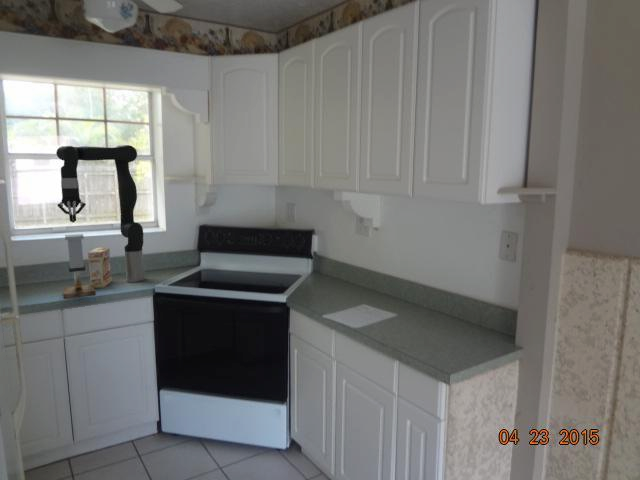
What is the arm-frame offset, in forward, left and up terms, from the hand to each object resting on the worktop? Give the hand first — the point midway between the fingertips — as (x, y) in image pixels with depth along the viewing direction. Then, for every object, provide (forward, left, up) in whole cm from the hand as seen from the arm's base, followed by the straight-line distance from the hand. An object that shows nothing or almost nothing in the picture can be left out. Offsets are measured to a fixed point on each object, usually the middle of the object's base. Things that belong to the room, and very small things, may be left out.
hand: (73, 222), depth 230 cm
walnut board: (0, 0, -37) cm, 37 cm away
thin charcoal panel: (0, 0, -24) cm, 24 cm away
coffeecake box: (-11, -14, -37) cm, 41 cm away
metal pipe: (0, 0, -34) cm, 34 cm away
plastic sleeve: (0, 0, -23) cm, 23 cm away
